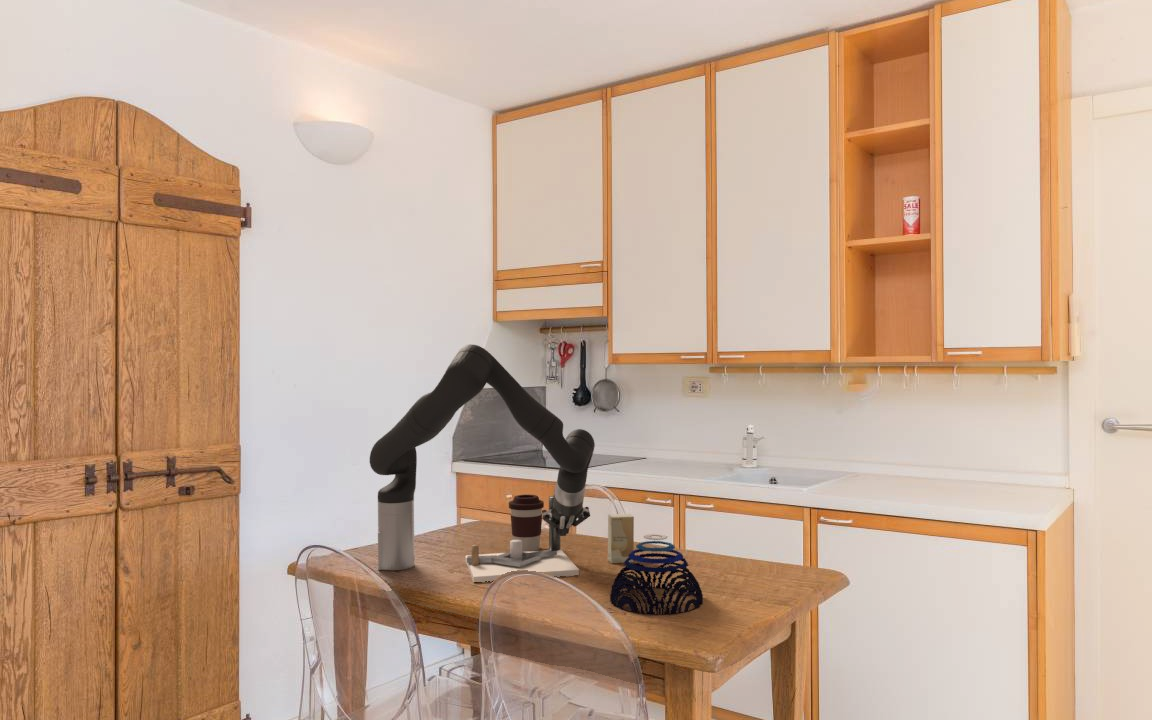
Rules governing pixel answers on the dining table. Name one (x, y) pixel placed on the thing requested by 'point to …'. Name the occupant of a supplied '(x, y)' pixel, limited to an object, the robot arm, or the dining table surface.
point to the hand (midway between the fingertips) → (562, 533)
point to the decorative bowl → (624, 582)
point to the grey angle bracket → (526, 557)
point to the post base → (549, 565)
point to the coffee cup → (526, 520)
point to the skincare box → (620, 537)
